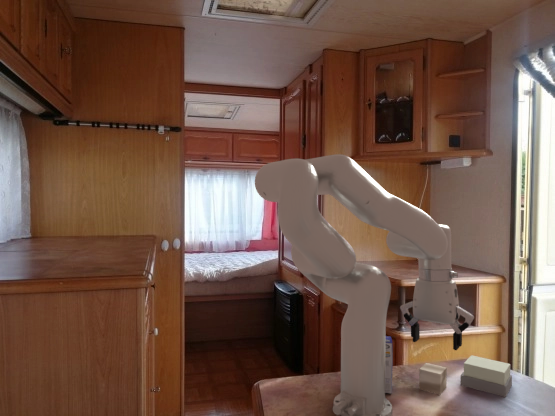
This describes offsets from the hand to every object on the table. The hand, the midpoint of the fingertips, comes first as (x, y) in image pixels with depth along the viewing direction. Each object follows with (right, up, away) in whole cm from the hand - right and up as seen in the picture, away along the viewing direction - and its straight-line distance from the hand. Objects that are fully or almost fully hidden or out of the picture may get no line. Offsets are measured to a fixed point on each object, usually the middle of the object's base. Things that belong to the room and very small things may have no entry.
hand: (435, 344), depth 101 cm
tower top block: (+13, -8, +1) cm, 16 cm away
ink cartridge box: (-16, -11, 0) cm, 19 cm away
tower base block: (+13, -11, +2) cm, 17 cm away
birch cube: (-1, -11, 0) cm, 11 cm away
